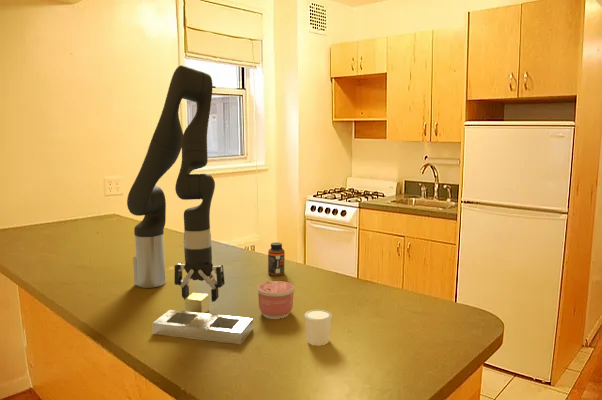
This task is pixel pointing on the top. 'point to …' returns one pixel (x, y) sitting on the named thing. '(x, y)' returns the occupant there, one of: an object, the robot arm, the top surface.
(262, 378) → the top surface
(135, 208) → the robot arm
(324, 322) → the white cup
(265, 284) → the container
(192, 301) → the wooden toy cube
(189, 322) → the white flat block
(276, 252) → the supplement bottle
